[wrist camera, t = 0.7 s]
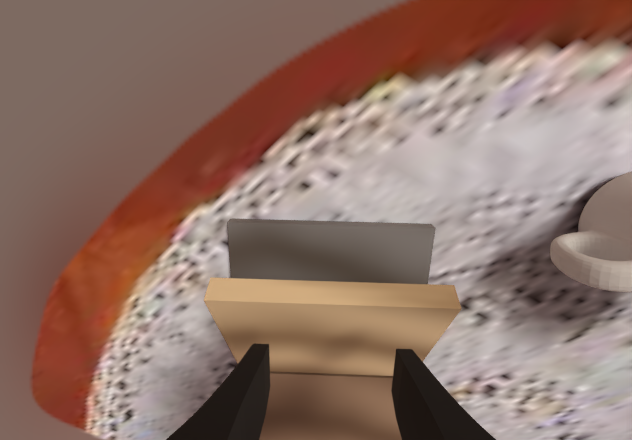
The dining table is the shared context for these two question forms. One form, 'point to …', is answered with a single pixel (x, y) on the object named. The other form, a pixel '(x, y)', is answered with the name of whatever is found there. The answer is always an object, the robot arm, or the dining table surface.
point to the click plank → (330, 321)
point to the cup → (600, 240)
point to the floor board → (339, 266)
